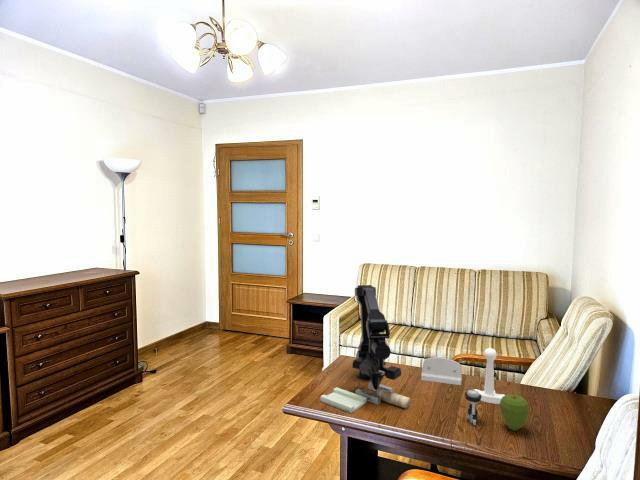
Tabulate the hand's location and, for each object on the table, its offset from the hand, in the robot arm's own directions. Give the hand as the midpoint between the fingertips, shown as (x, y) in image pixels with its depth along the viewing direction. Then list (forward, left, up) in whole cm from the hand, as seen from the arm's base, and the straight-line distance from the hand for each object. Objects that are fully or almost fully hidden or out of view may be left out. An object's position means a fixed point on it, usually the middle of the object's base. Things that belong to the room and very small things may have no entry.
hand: (375, 389), depth 158 cm
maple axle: (0, +8, -3) cm, 8 cm away
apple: (-9, +47, -3) cm, 48 cm away
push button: (-5, +35, -3) cm, 36 cm away
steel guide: (0, -1, -3) cm, 3 cm away
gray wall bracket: (-31, +13, -3) cm, 34 cm away
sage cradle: (+12, -7, -3) cm, 14 cm away
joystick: (-26, +34, -3) cm, 43 cm away
